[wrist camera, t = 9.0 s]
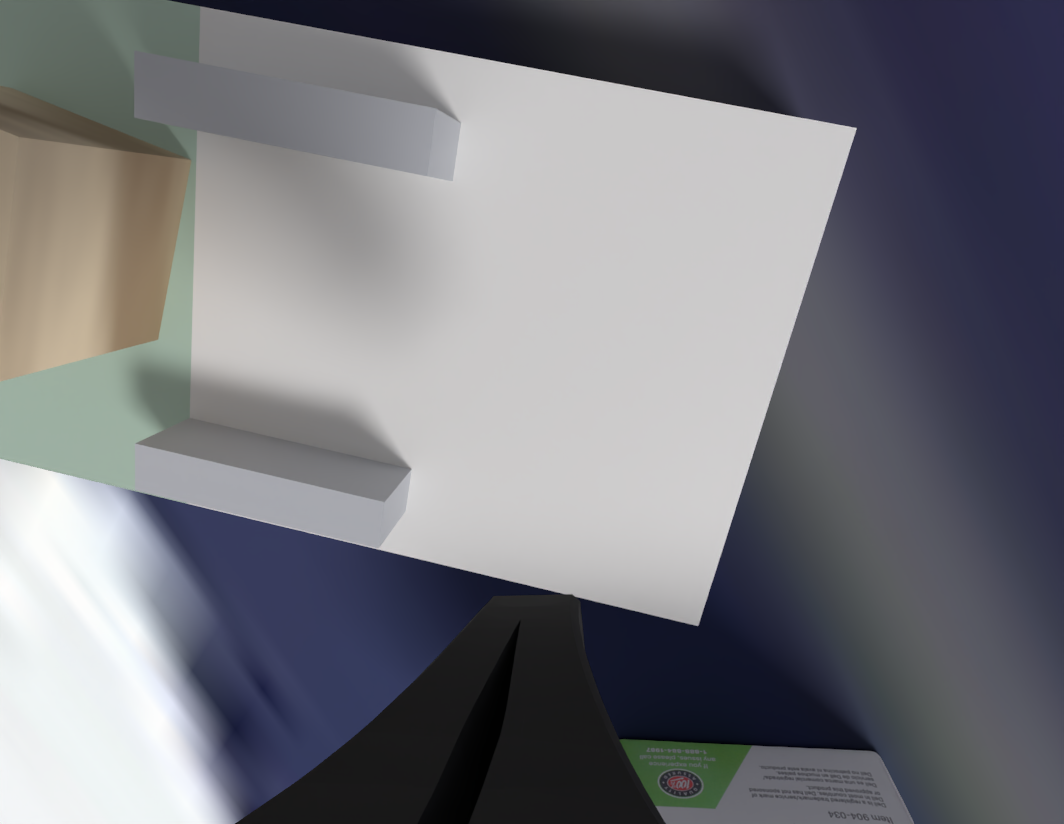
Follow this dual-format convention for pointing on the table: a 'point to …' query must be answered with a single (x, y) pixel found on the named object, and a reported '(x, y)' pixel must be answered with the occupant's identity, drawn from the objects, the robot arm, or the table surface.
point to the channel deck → (435, 297)
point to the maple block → (80, 235)
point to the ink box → (765, 784)
